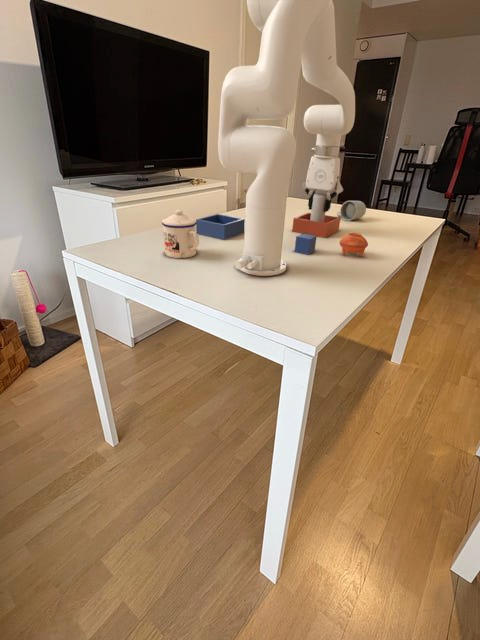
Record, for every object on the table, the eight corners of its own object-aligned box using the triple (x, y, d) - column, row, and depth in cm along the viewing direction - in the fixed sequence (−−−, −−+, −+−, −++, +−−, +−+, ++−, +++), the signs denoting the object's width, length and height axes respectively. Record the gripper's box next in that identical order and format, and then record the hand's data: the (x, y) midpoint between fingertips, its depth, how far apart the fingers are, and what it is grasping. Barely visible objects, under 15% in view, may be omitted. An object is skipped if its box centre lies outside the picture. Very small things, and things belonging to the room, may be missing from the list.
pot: (352, 260, 95) (352, 235, 93) (333, 257, 102) (333, 234, 99) (374, 255, 98) (374, 231, 96) (354, 254, 105) (354, 231, 103)
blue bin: (224, 239, 109) (224, 225, 107) (196, 233, 114) (195, 219, 112) (244, 232, 117) (244, 218, 115) (217, 226, 123) (217, 213, 121)
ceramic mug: (365, 219, 141) (369, 200, 138) (354, 222, 136) (358, 202, 133) (343, 215, 148) (346, 196, 145) (332, 217, 143) (335, 198, 140)
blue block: (308, 254, 98) (310, 239, 96) (294, 251, 101) (296, 236, 98) (314, 251, 102) (316, 236, 100) (300, 248, 104) (302, 233, 102)
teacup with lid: (157, 252, 95) (153, 209, 89) (183, 246, 101) (181, 205, 95) (184, 264, 88) (182, 218, 82) (210, 256, 94) (210, 213, 88)
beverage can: (322, 231, 120) (328, 195, 114) (308, 230, 121) (313, 194, 115) (322, 228, 124) (327, 193, 118) (309, 227, 125) (313, 192, 119)
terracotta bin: (325, 237, 115) (327, 223, 113) (292, 231, 121) (293, 218, 119) (338, 230, 125) (340, 217, 122) (306, 224, 130) (308, 212, 128)
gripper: (297, 151, 112) (291, 208, 121) (348, 154, 104) (338, 215, 113) (307, 150, 117) (300, 205, 126) (356, 153, 109) (345, 212, 118)
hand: (318, 209), depth 119 cm, fingers closed on beverage can, 4 cm apart
